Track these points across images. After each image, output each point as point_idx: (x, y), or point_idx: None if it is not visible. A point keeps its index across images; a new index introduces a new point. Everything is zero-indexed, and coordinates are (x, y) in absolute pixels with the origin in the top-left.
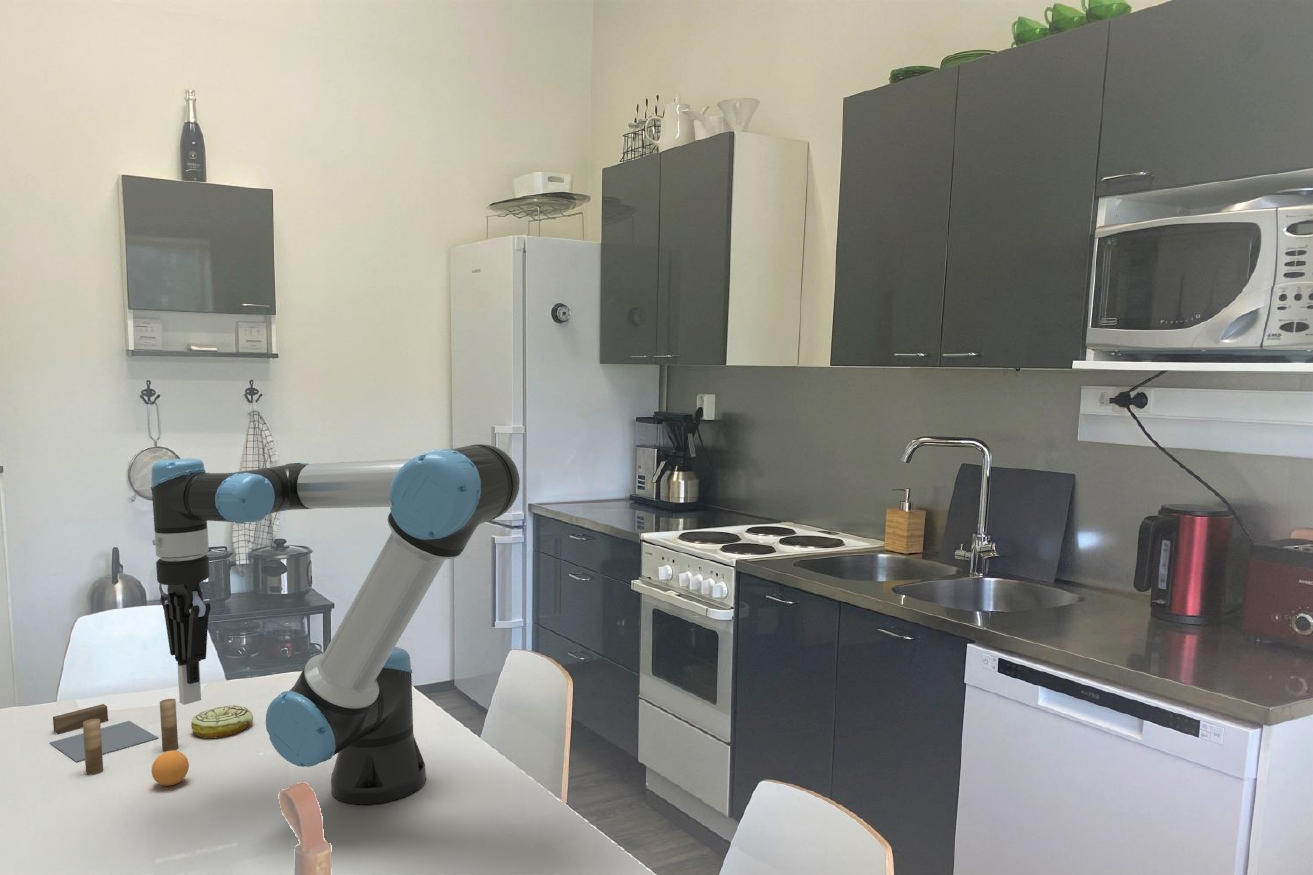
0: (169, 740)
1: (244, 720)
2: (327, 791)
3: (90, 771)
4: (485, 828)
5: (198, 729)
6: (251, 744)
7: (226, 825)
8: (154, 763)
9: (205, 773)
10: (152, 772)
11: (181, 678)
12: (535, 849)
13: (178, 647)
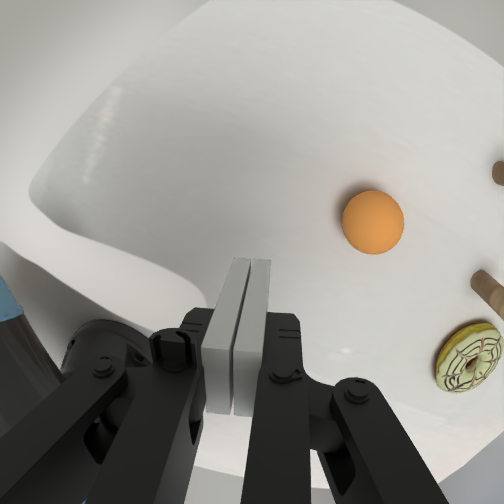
0: (481, 283)
1: (436, 377)
2: (143, 329)
3: (498, 163)
4: None
5: (475, 327)
6: (387, 356)
7: (140, 195)
8: (384, 199)
9: (355, 268)
10: (378, 191)
11: (227, 305)
12: None
13: (253, 431)
